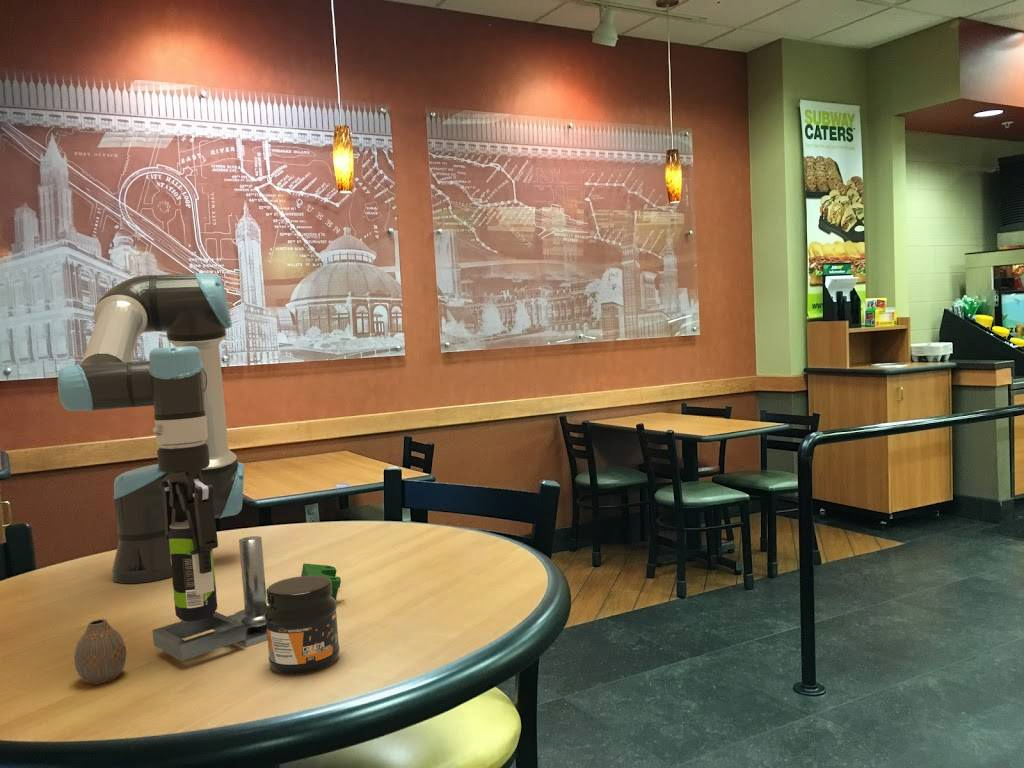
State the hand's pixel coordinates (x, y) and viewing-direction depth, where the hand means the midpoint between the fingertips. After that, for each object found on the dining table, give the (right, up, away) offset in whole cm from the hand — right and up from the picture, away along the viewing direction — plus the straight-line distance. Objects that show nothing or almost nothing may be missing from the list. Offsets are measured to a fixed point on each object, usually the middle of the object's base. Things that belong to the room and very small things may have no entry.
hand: (195, 588), depth 129 cm
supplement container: (+19, -10, -6) cm, 22 cm away
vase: (-11, -12, -8) cm, 18 cm away
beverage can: (0, -5, 0) cm, 5 cm away
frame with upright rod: (+4, -10, +4) cm, 11 cm away
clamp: (+14, -8, +24) cm, 29 cm away
